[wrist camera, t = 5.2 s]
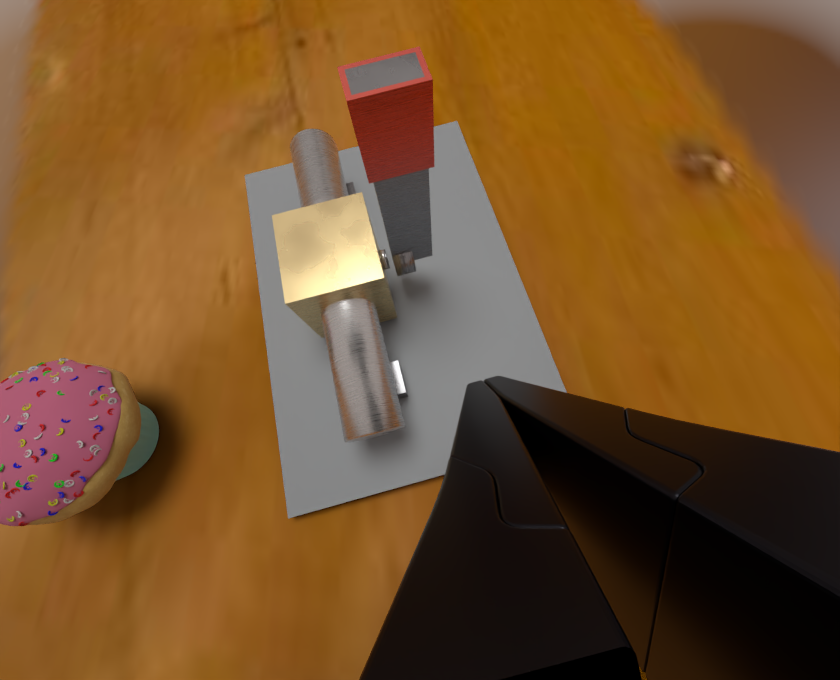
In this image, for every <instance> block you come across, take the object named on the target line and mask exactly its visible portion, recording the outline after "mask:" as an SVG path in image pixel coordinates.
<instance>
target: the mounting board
mask: <svg viewBox="0 0 840 680" xmlns="http://www.w3.org/2000/svg"><path fill="white" fill-rule="evenodd" d="M338 153H339V157H340V162H341V166H342V170H343V174H344V178H345V182H346V183H350V182H353V184H354V187H355V190H356V193H360V192H362V194H363V197H364V200H365V203H366V207H367V210H368V213H369V216H370V220H371V223H372V226H373V230H374V233H375V236H376V239H377V243H378V246H379V249H380V250H382V249H385V251H386V255H387V258H388V262H389V266H390V268H389V269H385V272H386V276H387V280H388V283H389V287H390V291H391V295H392V299H393V302H394V306H395V310H396V314H397V318H395V319H391V320H387V321H383V322H380V326H381V330H382V334H383V338H384V342H385V346H386V350H387V354H388V358H389V363H390V362H394V361H399V363H400V366H401V369H402V373H403V377H404V380H405V384H406V388H407V392H408V396H407V397H404V398H400V399H399V404H400V408H401V412H402V416H403V420H404V424H405V427H404V428H402V429H400V430H397V431H394V432H391V433H388V434H384V435H381V436H377V437H373V438H369V439H365V440H360V441H355V442H349V443H345V442H344V437H343V431H342V426H341V421H340V415H339V410H338V404H337V399H336V394H335V388H334V383H333V377H332V372H331V367H330V361H329V356H328V351H327V345H326V340H325V337H324V338H321V337H320V336H319V335H318V334H317V333H316V332H315V331H314V330H313V329H312V328H311V327H309V326H308V325H307V324H306V323H305V322H304V321H303V320H302V319H301V318H300V317H299V316H298V315H297V314H295V313H294V312H293V311H292V310H291V309H290V308H289V307H288V306H287V305H286V304H285V300H284V293H283V287H282V280H281V273H280V267H279V260H278V254H277V247H276V240H275V234H274V227H273V220H272V215H275V214H279V213H283V212H286V211H290V210H294V209H298V208H301V205H300V200H299V194H298V189H297V184H296V178H295V173H294V167H293V163H290V164H287V165H283V166H279V167H275V168H271V169H267V170H263V171H259V172H255V173H251V174H247V175H245V181H246V188H247V196H248V204H249V212H250V220H251V228H252V236H253V244H254V252H255V260H256V268H257V276H258V284H259V291H260V299H261V307H262V315H263V323H264V331H265V339H266V347H267V355H268V363H269V371H270V379H271V387H272V394H273V402H274V410H275V418H276V426H277V434H278V442H279V450H280V458H281V466H282V474H283V482H284V490H285V497H286V505H287V513H288V518H292V517H295V516H299V515H302V514H306V513H309V512H313V511H317V510H320V509H324V508H327V507H331V506H334V505H338V504H341V503H345V502H349V501H352V500H356V499H359V498H363V497H366V496H370V495H373V494H377V493H380V492H384V491H388V490H391V489H395V488H398V487H402V486H405V485H409V484H412V483H416V482H420V481H423V480H427V479H430V478H434V477H437V476H441V475H444V474H445V472H446V468H447V464H448V460H449V458H450V454H451V450H452V445H453V441H454V437H455V433H456V429H457V425H458V420H459V416H460V412H461V408H462V404H463V399H464V395H465V391H466V387H467V385H468V384H469V383H472V382H476V381H480V380H482V381H484V380H485V379H487V378H490V377H494V376H503V377H507V378H510V379H514V380H518V381H522V382H526V383H530V384H534V385H538V386H542V387H546V388H550V389H554V390H557V391H561V392H565V393H567V392H566V390H565V387H564V385H563V382H562V380H561V377H560V375H559V372H558V370H557V367H556V365H555V363H554V360H553V358H552V355H551V353H550V350H549V348H548V345H547V343H546V340H545V338H544V335H543V333H542V330H541V328H540V325H539V323H538V320H537V318H536V315H535V313H534V311H533V308H532V306H531V303H530V301H529V298H528V296H527V293H526V291H525V288H524V286H523V283H522V281H521V278H520V276H519V273H518V271H517V268H516V266H515V264H514V261H513V259H512V256H511V254H510V251H509V249H508V246H507V244H506V241H505V239H504V236H503V234H502V231H501V229H500V226H499V224H498V221H497V219H496V217H495V214H494V212H493V209H492V207H491V204H490V202H489V199H488V197H487V194H486V192H485V189H484V187H483V184H482V182H481V179H480V177H479V174H478V172H477V170H476V167H475V165H474V162H473V160H472V157H471V155H470V152H469V150H468V147H467V145H466V142H465V140H464V137H463V135H462V132H461V130H460V127H459V125H458V122H457V121H455V122H451V123H447V124H443V125H439V126H435V127H434V167H432V168H429V187H430V210H431V233H432V256H429V257H425V258H421V259H417V260H414V261H415V266H416V272H412V273H408V274H405V275H401V276H397V273H396V270H395V266H394V262H393V259H392V255H391V251H390V247H389V244H388V240H387V235H386V231H385V227H384V223H383V219H382V216H381V212H380V208H379V204H378V200H377V196H376V192H375V188H374V184H373V183H370V184H369V182H368V178H367V175H366V171H365V167H364V164H363V160H362V156H361V152H360V149H359V146H357V147H353V148H349V149H345V150H341V151H338Z"/></svg>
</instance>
